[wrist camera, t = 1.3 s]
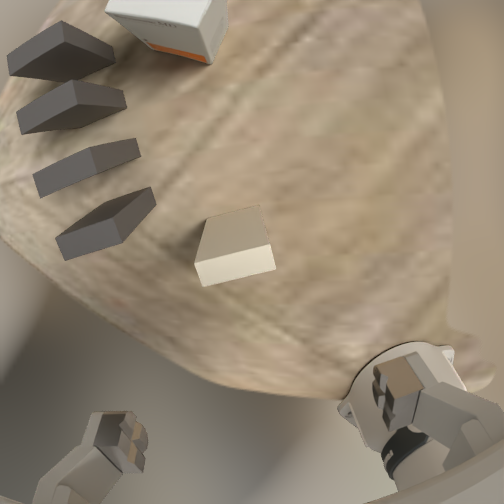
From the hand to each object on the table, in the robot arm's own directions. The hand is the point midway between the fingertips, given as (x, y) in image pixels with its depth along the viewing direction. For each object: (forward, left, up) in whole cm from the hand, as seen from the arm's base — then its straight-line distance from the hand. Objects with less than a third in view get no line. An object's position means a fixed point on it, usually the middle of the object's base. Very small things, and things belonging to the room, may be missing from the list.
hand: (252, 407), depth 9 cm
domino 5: (0, +1, -22) cm, 22 cm away
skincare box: (+17, -4, -22) cm, 28 cm away
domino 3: (+11, +7, -22) cm, 26 cm away
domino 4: (+6, +8, -22) cm, 25 cm away
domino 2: (+16, +6, -22) cm, 28 cm away
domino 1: (+20, +5, -22) cm, 30 cm away
